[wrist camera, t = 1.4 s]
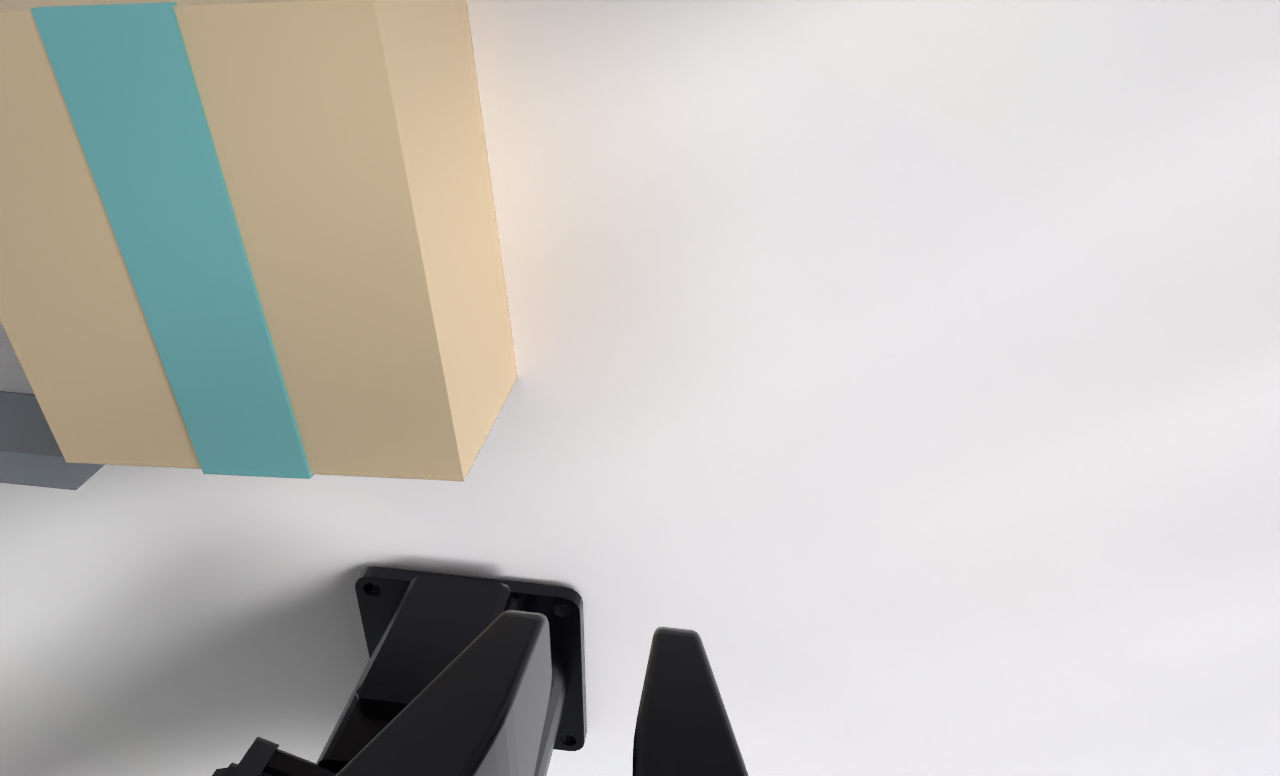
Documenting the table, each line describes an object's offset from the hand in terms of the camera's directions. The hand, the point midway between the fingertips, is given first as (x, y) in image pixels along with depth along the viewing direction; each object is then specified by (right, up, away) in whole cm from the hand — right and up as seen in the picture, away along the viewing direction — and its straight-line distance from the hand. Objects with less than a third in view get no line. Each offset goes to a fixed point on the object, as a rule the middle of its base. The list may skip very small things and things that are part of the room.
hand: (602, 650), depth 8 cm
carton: (-7, +7, +11) cm, 15 cm away
